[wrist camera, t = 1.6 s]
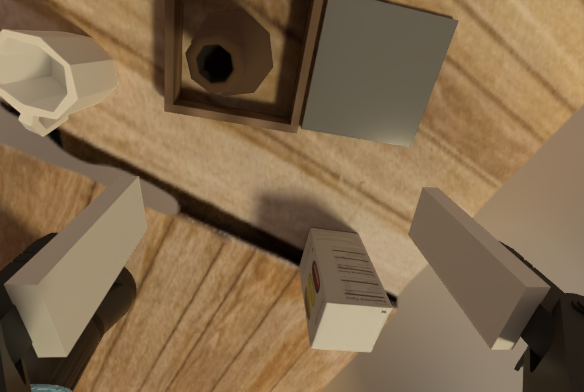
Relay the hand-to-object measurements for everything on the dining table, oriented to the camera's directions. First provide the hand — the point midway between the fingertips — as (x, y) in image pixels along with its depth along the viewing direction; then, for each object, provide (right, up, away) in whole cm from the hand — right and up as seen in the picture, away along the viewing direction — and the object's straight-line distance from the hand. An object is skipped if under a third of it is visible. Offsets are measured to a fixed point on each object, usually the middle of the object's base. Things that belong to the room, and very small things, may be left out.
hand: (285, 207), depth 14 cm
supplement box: (+7, -9, +41) cm, 43 cm away
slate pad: (+12, +17, +28) cm, 34 cm away
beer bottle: (-6, +19, +25) cm, 32 cm away
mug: (-27, +15, +25) cm, 40 cm away
